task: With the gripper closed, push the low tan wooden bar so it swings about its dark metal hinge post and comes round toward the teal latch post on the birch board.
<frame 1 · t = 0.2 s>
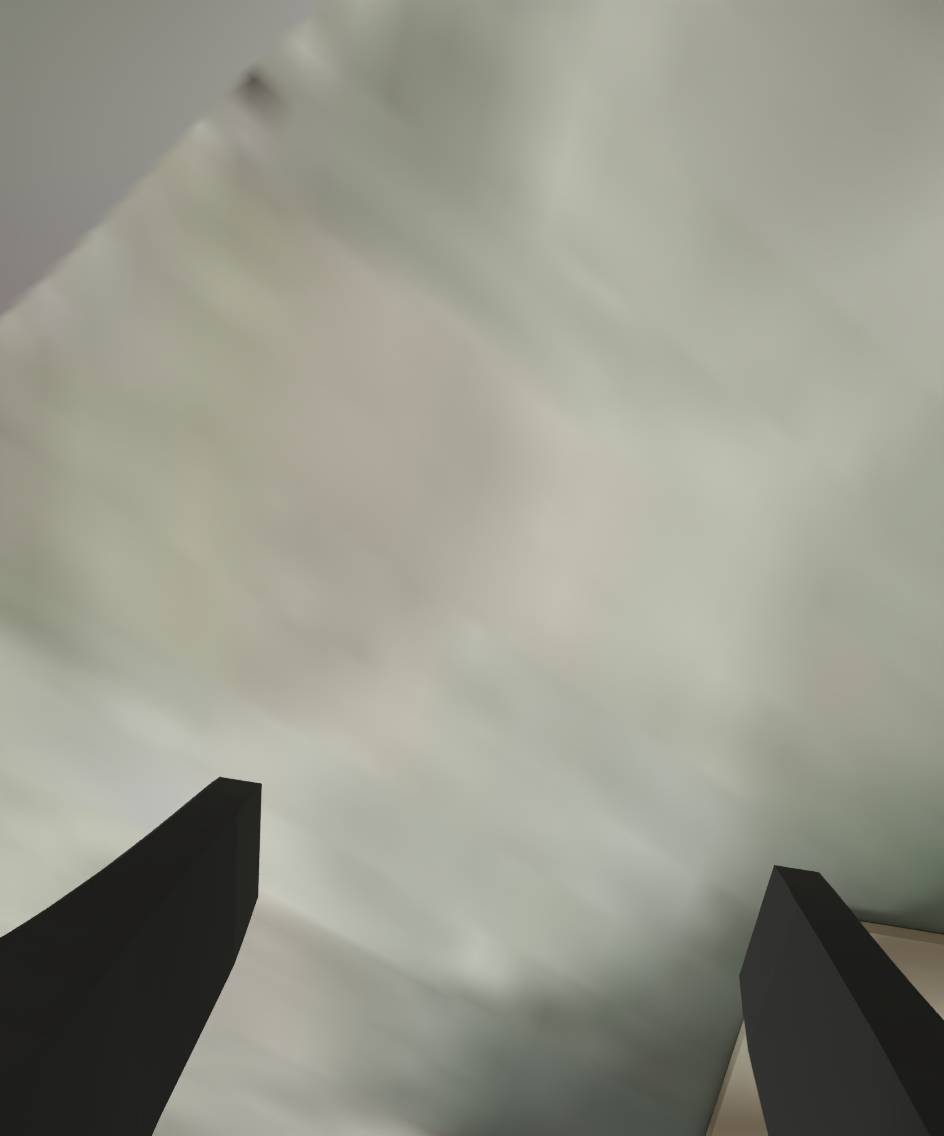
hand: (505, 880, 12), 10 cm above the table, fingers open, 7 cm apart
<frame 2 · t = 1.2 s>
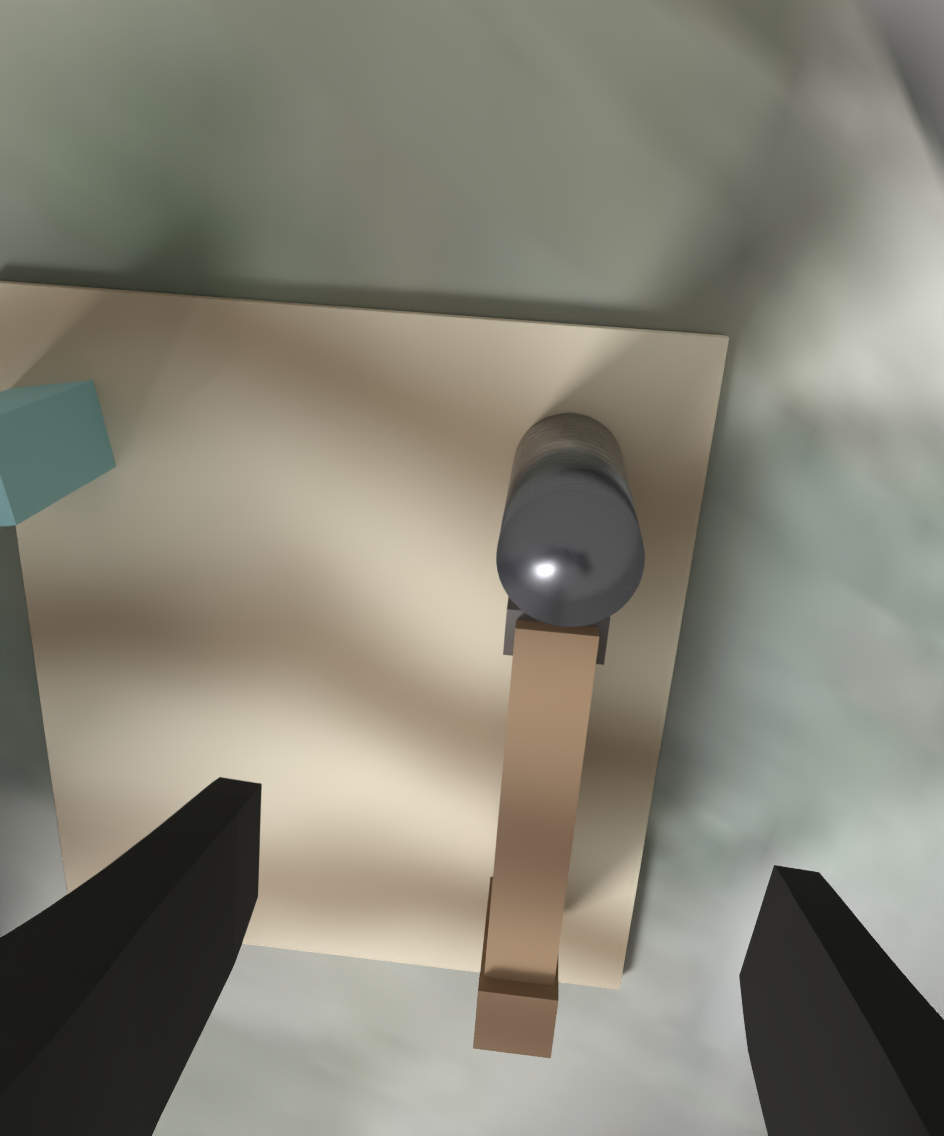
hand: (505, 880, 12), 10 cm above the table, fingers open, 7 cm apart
latch post: (72, 423, 21), resting on board
tan wooden bar: (534, 810, 20), point 3 cm above the table, hinge at 0.0°
board: (345, 674, 23), on the table
hinge post: (567, 461, 20), resting on board
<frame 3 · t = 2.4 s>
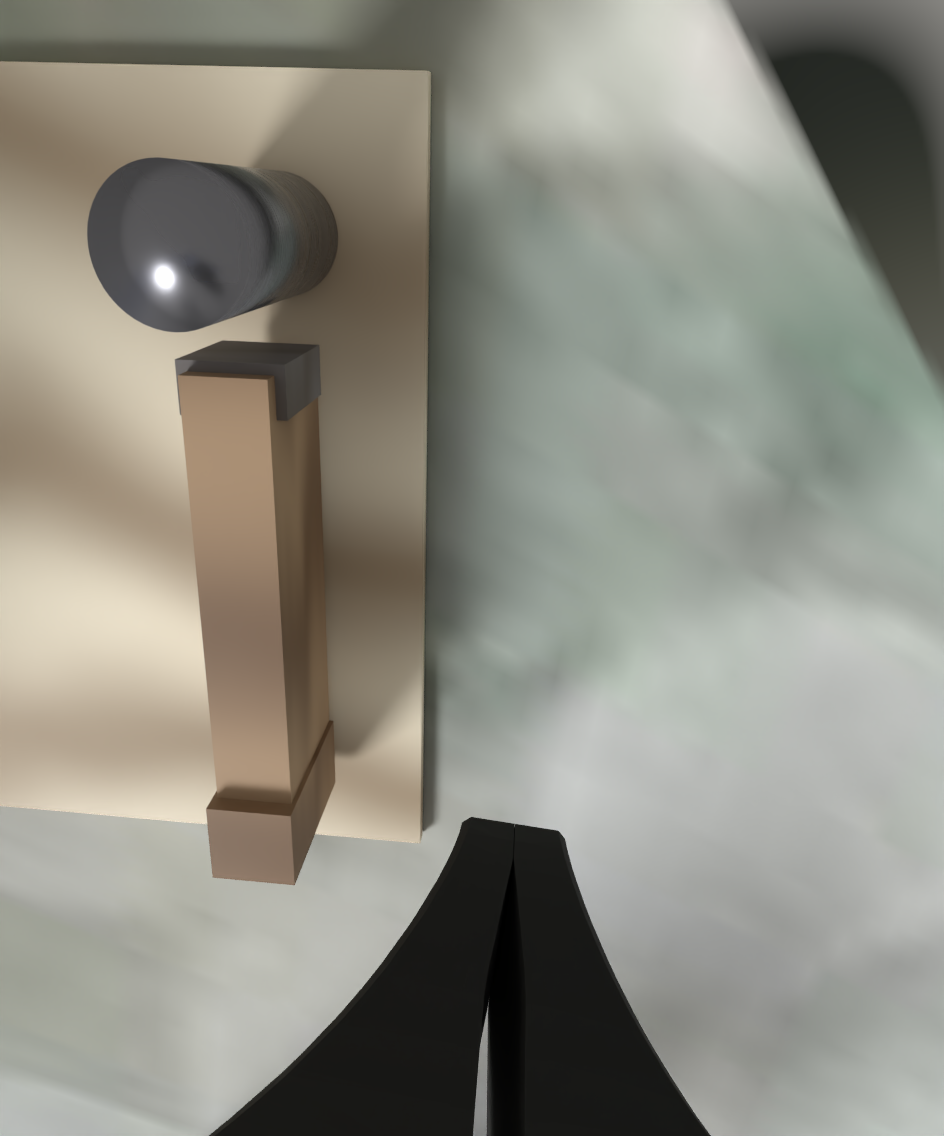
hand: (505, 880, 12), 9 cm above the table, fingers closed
tan wooden bar: (265, 615, 19), point 3 cm above the table, hinge at 0.0°
board: (92, 496, 21), on the table
hinge post: (285, 234, 19), resting on board
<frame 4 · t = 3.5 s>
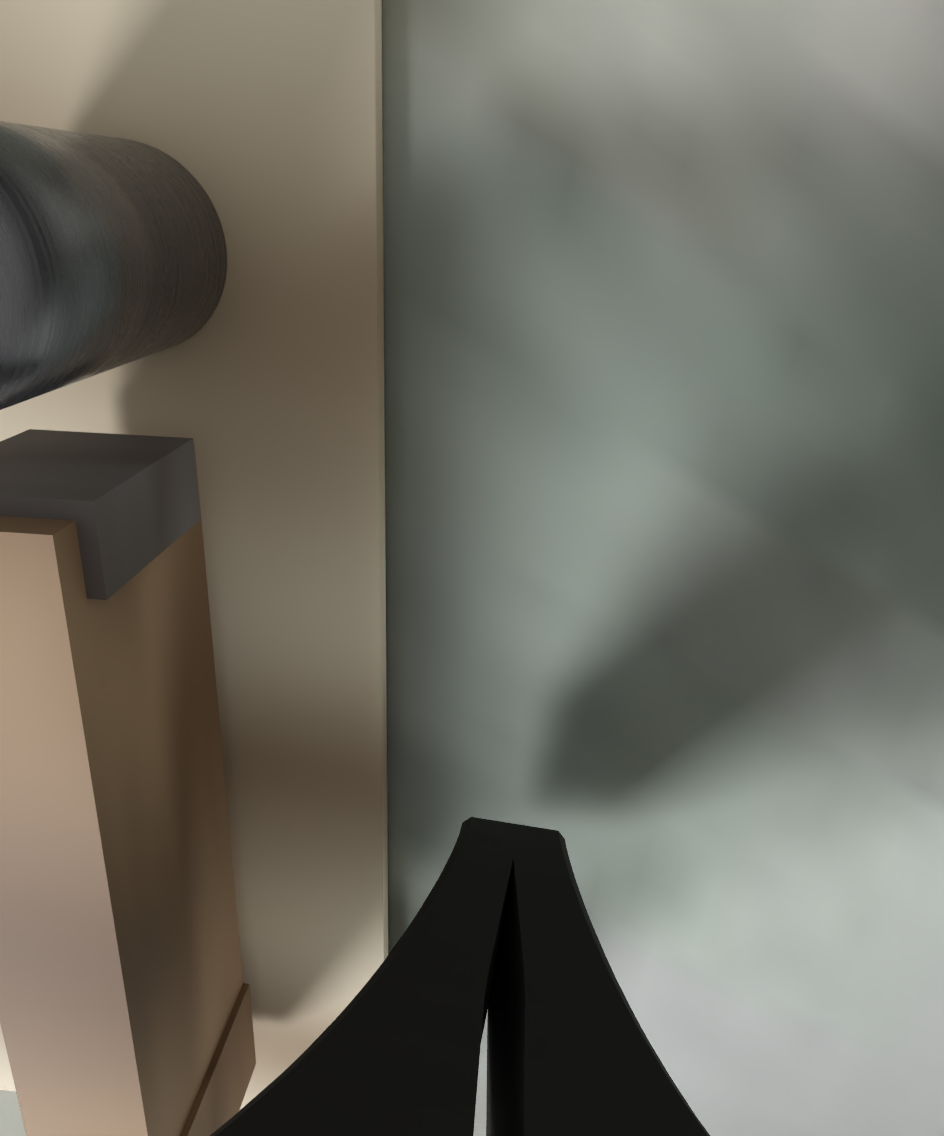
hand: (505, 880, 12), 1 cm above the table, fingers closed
tan wooden bar: (114, 879, 11), point 3 cm above the table, hinge at 0.0°
hinge post: (144, 247, 11), resting on board
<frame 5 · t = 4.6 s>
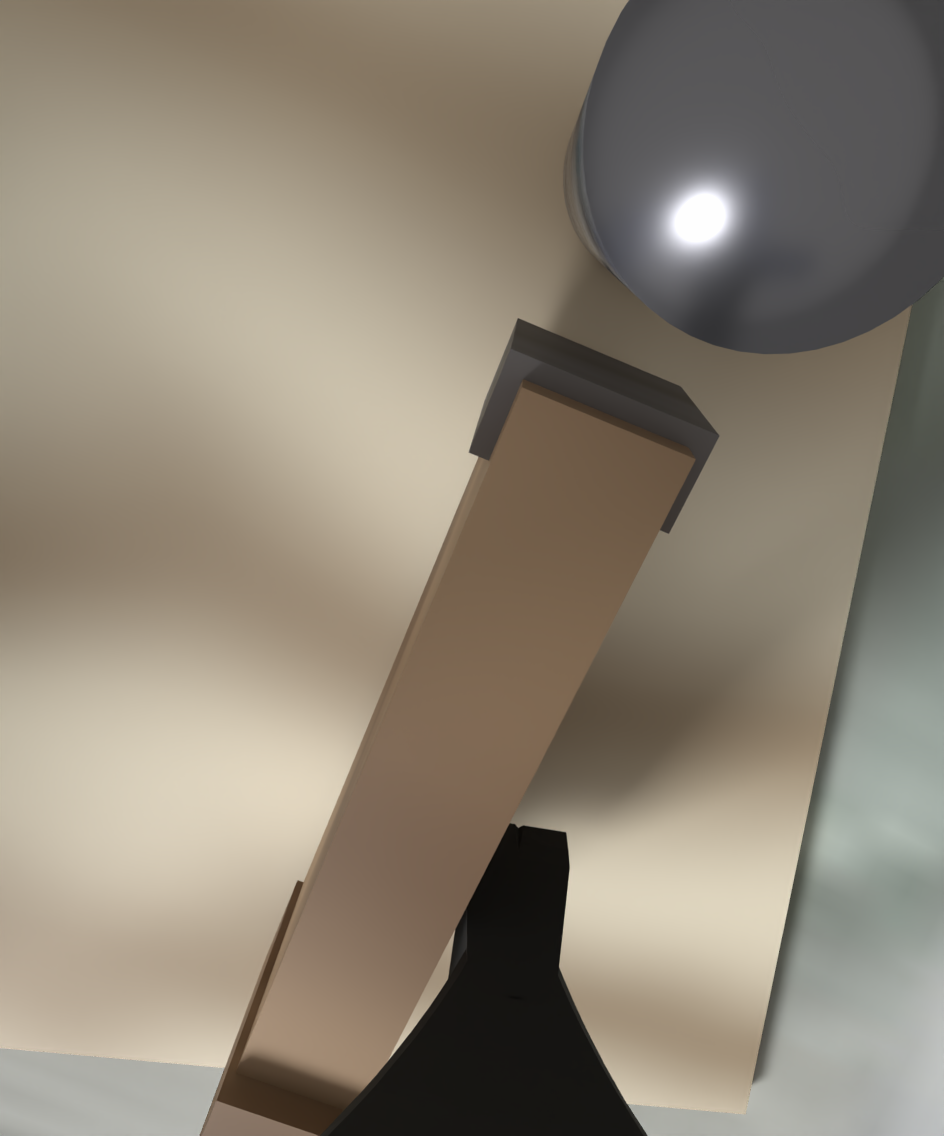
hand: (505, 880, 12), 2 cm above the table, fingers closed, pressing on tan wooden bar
tan wooden bar: (417, 793, 11), point 3 cm above the table, hinge at 20.0°, touching gripper
board: (275, 611, 13), on the table
hinge post: (663, 176, 11), resting on board
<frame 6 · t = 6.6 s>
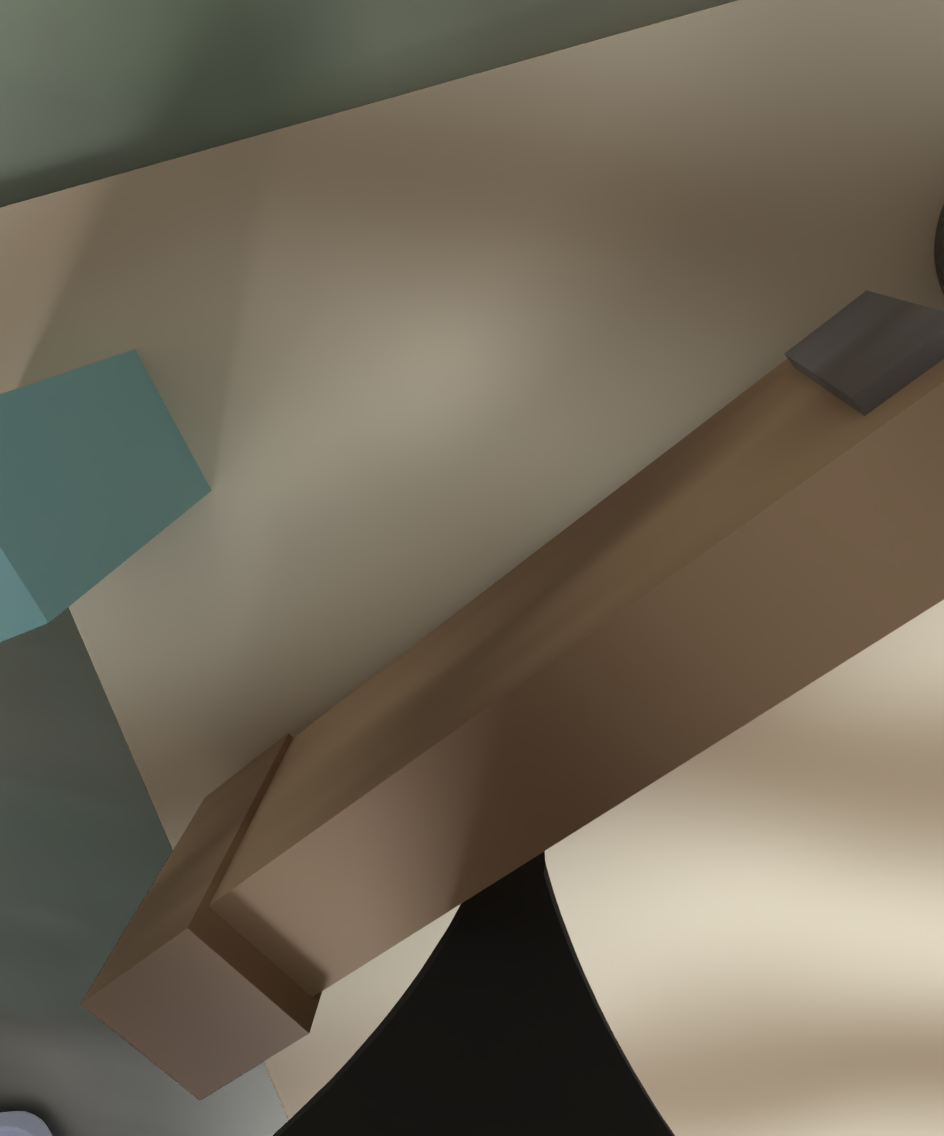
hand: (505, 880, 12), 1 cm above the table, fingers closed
latch post: (124, 442, 12), resting on board
tan wooden bar: (522, 704, 10), point 3 cm above the table, hinge at 62.0°, touching gripper
board: (670, 738, 13), on the table
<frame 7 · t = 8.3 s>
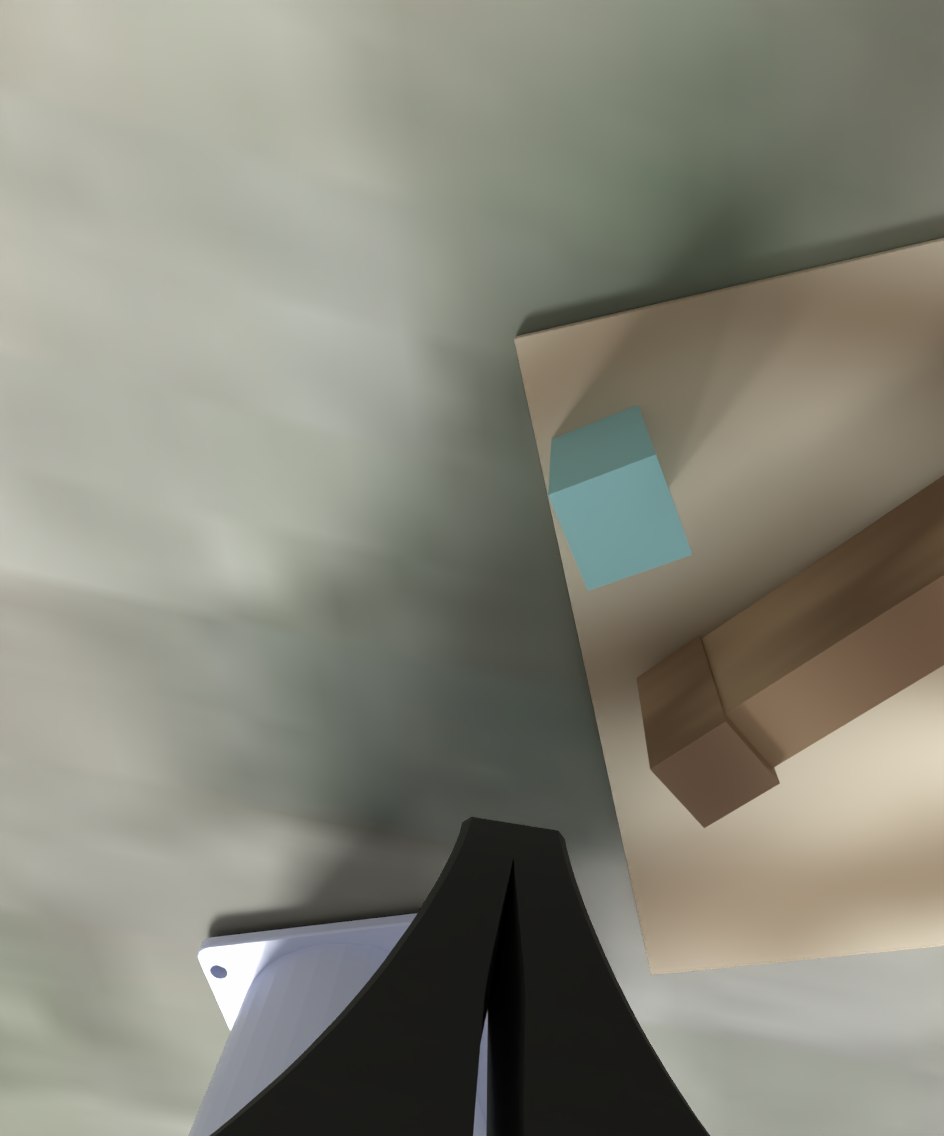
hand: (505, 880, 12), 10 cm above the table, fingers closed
latch post: (609, 458, 20), resting on board
tan wooden bar: (889, 606, 18), point 3 cm above the table, hinge at 62.1°
board: (928, 641, 21), on the table
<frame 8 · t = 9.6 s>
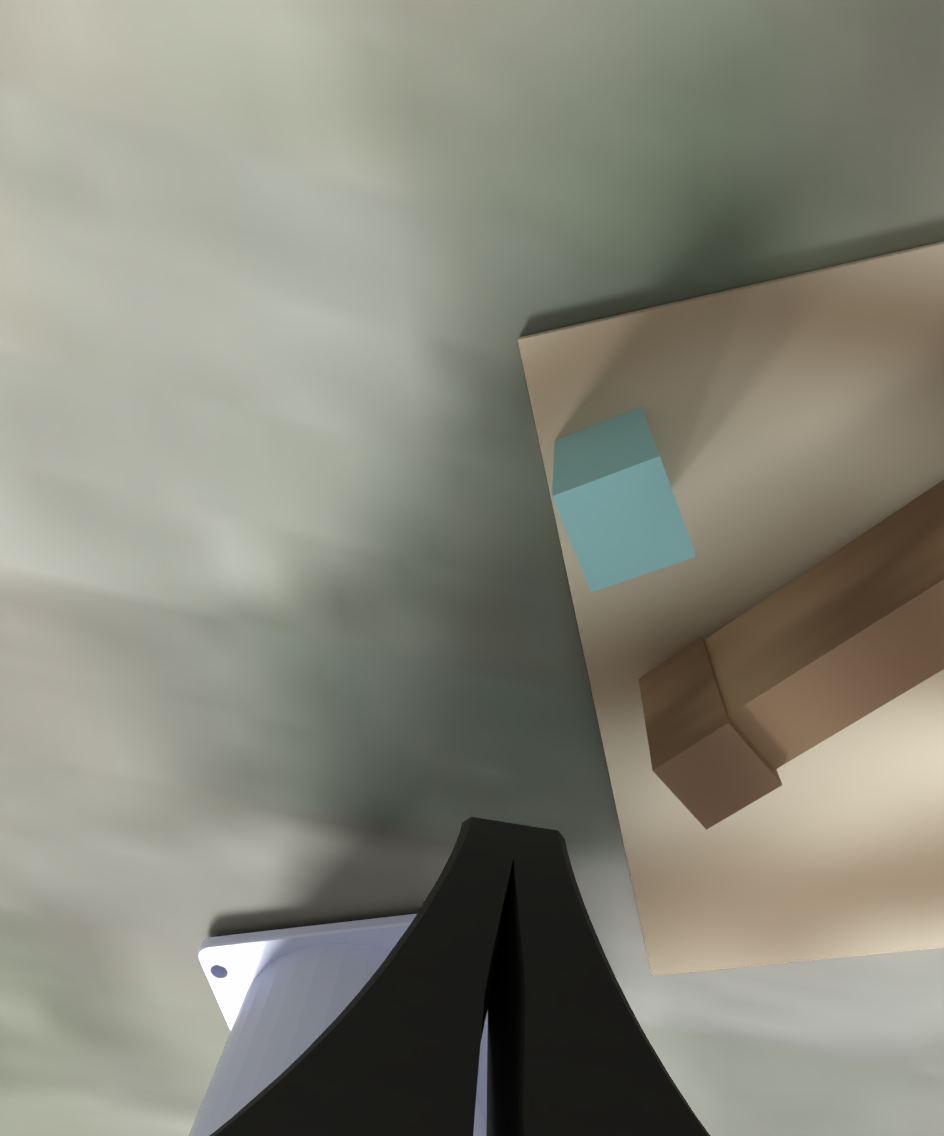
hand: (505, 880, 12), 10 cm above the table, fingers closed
latch post: (612, 459, 20), resting on board
tan wooden bar: (891, 608, 18), point 3 cm above the table, hinge at 62.1°
board: (929, 643, 21), on the table
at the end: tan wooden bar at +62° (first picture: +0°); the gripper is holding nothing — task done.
